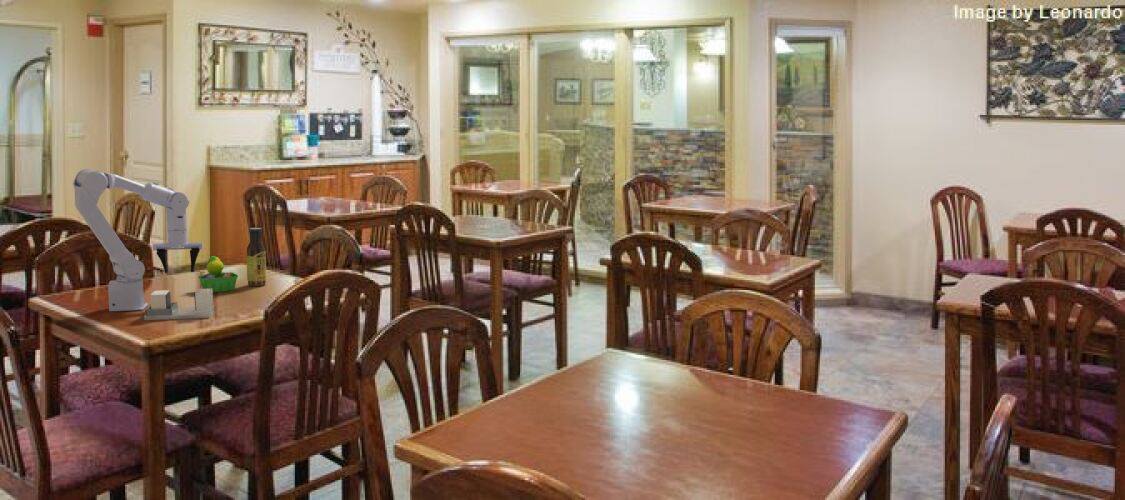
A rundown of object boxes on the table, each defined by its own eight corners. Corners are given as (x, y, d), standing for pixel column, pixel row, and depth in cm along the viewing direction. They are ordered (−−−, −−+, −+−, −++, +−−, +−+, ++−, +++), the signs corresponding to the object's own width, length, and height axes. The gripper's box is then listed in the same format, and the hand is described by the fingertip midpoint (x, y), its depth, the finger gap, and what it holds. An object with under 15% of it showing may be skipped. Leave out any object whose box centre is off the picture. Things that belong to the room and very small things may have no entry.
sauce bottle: (260, 287, 312) (258, 230, 309) (243, 286, 313) (241, 229, 310) (270, 283, 318) (268, 227, 315) (253, 282, 319) (251, 226, 316)
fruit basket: (204, 294, 300) (202, 260, 298) (197, 289, 307) (195, 256, 306) (239, 290, 307) (237, 257, 305) (231, 286, 314) (230, 253, 312)
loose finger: (151, 314, 266) (150, 294, 265) (156, 310, 272) (155, 290, 271) (167, 314, 267) (166, 294, 266) (171, 309, 273) (170, 290, 272)
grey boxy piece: (144, 320, 264) (142, 296, 263) (151, 312, 274) (149, 289, 273) (209, 317, 268) (208, 294, 267) (214, 310, 278) (213, 287, 277)
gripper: (150, 231, 280) (152, 275, 283) (200, 230, 284) (202, 273, 286) (154, 228, 287) (156, 271, 289) (203, 227, 291) (205, 269, 293)
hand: (179, 272), depth 288 cm, fingers open, 7 cm apart
